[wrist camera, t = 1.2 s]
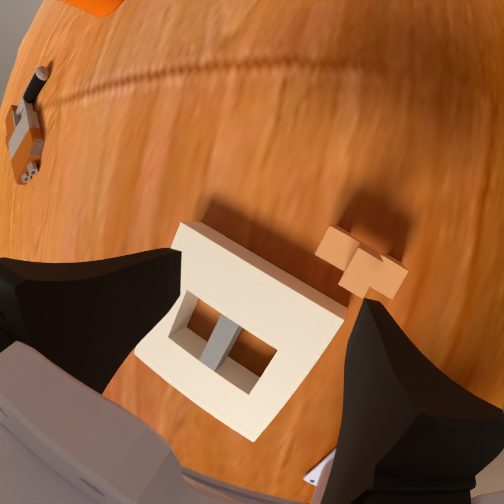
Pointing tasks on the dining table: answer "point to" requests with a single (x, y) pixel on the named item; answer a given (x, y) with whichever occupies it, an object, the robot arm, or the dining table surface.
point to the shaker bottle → (95, 6)
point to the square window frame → (238, 330)
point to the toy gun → (26, 131)
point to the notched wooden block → (361, 264)
